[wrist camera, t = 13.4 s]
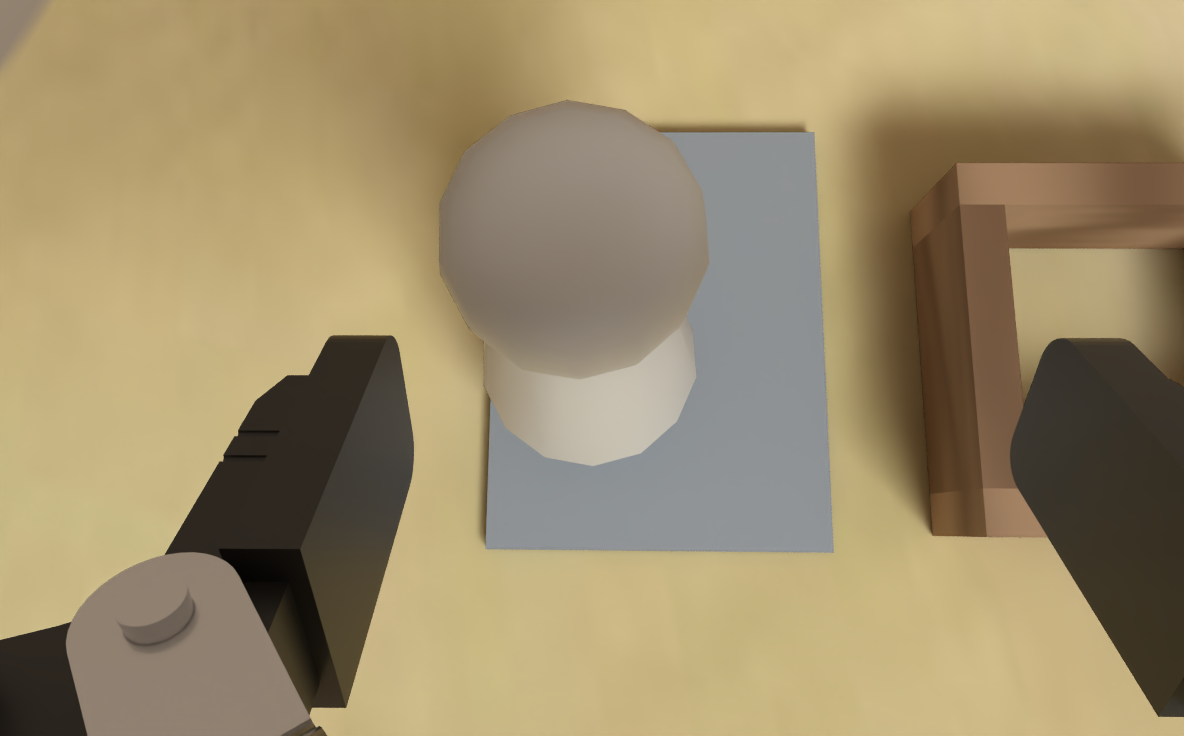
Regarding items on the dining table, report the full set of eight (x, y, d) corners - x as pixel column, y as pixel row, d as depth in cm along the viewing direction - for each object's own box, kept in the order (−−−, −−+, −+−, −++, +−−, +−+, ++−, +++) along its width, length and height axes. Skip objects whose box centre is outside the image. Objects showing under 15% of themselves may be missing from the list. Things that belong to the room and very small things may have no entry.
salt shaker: (543, 253, 25) (477, -25, 13) (715, 324, 25) (828, 108, 12) (462, 426, 24) (303, 313, 12) (640, 503, 24) (677, 474, 11)
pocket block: (932, 535, 24) (986, 536, 20) (910, 211, 26) (956, 162, 22) (1281, 538, 24) (1395, 540, 20) (1233, 212, 26) (1330, 163, 22)
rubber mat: (487, 548, 24) (485, 548, 24) (501, 138, 27) (499, 132, 26) (829, 552, 24) (833, 552, 23) (811, 138, 26) (814, 132, 26)
